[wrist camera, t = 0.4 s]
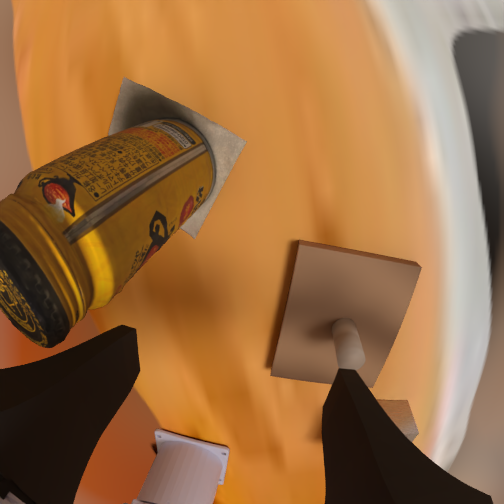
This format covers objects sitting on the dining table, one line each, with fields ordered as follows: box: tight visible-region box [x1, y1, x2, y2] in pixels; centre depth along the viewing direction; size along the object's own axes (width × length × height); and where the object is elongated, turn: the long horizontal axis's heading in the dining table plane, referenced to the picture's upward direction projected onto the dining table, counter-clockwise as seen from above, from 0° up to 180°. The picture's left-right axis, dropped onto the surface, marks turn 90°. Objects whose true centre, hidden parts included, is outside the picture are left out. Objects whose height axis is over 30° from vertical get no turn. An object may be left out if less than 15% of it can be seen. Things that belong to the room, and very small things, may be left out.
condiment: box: [0, 77, 247, 348], centre depth 12 cm, size 7×8×12 cm
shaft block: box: [270, 240, 422, 388], centre depth 17 cm, size 10×8×4 cm
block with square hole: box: [377, 400, 419, 442], centre depth 20 cm, size 5×5×4 cm
